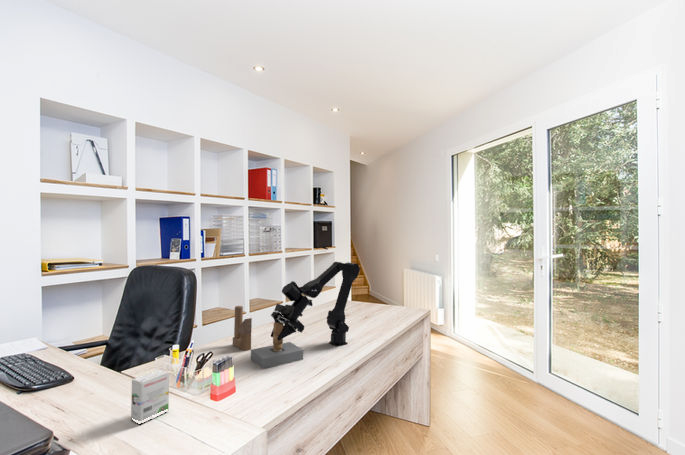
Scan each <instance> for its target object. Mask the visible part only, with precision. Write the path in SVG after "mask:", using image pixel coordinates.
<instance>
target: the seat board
mask: <svg viewBox="0 0 685 455" xmlns="http://www.w3.org/2000/svg"><path fill="white" fill-rule="evenodd" d="M250 360H251V361H252V362H253V363H255V365H257V366H258V367H260V369H262V370H264V369H268V368H273V367H278V366H281V365H285V364H289V363H294V362H298V361H302V360H304V349H303V348H301V347H299V346H298V345H296V344H294V343H293V342H291V341H287V342H283V343H282V351H280V352H276V353H274V351H273V344H272V345H267V346H262V347H258V348H253V349H252V348H251V349H250Z"/></svg>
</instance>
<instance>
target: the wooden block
mask: <svg viewBox="0 0 685 455" xmlns="http://www.w3.org/2000/svg"><path fill="white" fill-rule="evenodd" d="M243 312H244V307H243V306H242V305H236V306H234V325H233V326H234V327H233V328H234V329H233V335H234V336H233V337H232V346H233V347H235V348H237V349H240V350H242V351H243V352H246V351H251V350H252V326H253V323H252V319H253V318H252V317H249V318H245V319H244V320H243V317H244V316H243V314H244V313H243Z"/></svg>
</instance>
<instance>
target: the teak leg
mask: <svg viewBox="0 0 685 455" xmlns="http://www.w3.org/2000/svg"><path fill="white" fill-rule="evenodd" d="M283 325H284V324H283V323H281V322H277V323H275V322H273V328H272V331H273V337H272V345H273V351H274V353H276V352H280V351H282V343H284V342H283V340H284V338H283V339H281V340H279V341H278V340H277V338H278V336H279V335H280V333H281V331H282V330H283Z"/></svg>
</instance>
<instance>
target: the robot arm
mask: <svg viewBox="0 0 685 455" xmlns="http://www.w3.org/2000/svg"><path fill="white" fill-rule="evenodd" d="M360 270H361V267H360V265H359V264H358V263H355V262H349V261H347V262H345V263H344V262H341V261H334V262H332V264H331V265H330V266H329V267H328V268H327V269H326V270H324V271H323V272H322V273H321V274H319V275H318V276H317V277H316V278H314V279H311V280H309V281H308V282H306V283H304V285H302V286H299V285H297V282H296V281H290V283H287V284H286V285H284V286H283V287H282V289H281V293H282V294H283V295H284V296H285V297H286V298H287V299H288V300H289V301H290V302H292V303H291V305H290V304H285V305H282V304H280V303H276V306H275V307H274V310H273V311H272V312H271V314H270V316H271V317H272V319H273V320H274V323H277V322H281V323H283V330H282V331H281V333H280V335H279V336H278V338H277V340H278V341H279V340H281V339H283V340H284V338H287V337H288V336H290V335H292V334H294V333H297V332H298V333H303V332H304V330H305V325H304V324H303V323H302V322H301V321H300V320H299V317H302V316H303V312H304V311H305V310H306V308H307V307H308V306H310V307H312V306H313V299H315V298H317V297H318V296H320V294H321V293H322V291H323V288H324V287H325V285H326V284H328V283H329V282H330V281H331V280H333V278H334V277H335V276H337V274H339V273H340V272H341V275H342V281H341V285H340V288H339V292H338V294H337V298H336V302H335V305H334V308H333V309H332V310H328V313H327V316H326V323H327V326H328V328H329V330H331V334H330V341H329V344H331V345H334V346H335V347H340V346H344V345H348V342H347V340H346V339H347V337H346V336H347V334H346V333H348V332H349V328H350V326H348V324H346V314H345V309H346V307H347V303H348V300H349V297H350V293H351V289H352V285H353V282H354V281H355V280H356V279H357V278H358V276H359V275H360ZM309 298H312V299H309ZM270 337H271V338H273V330H272V331H271V334H270Z"/></svg>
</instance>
